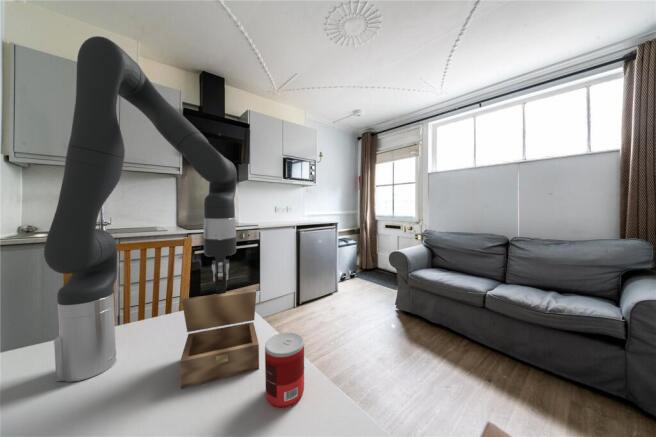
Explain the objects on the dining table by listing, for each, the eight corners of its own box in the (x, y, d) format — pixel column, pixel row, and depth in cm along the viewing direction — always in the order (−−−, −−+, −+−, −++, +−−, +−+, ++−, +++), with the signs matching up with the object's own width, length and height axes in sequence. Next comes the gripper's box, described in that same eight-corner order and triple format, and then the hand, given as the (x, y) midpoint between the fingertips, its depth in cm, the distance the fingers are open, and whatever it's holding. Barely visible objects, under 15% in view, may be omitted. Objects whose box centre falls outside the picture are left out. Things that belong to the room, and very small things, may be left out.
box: (180, 389, 50) (180, 362, 50) (189, 356, 62) (188, 333, 61) (259, 369, 57) (258, 344, 56) (253, 342, 68) (253, 321, 68)
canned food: (310, 384, 52) (309, 335, 51) (292, 415, 44) (292, 357, 44) (279, 376, 54) (278, 329, 54) (257, 404, 47) (257, 349, 46)
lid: (182, 301, 55) (182, 298, 56) (187, 332, 61) (187, 328, 62) (256, 291, 62) (255, 288, 63) (254, 320, 68) (254, 317, 69)
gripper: (205, 233, 65) (207, 295, 66) (201, 240, 53) (202, 315, 54) (235, 232, 68) (235, 291, 69) (237, 238, 56) (238, 310, 57)
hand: (221, 302), depth 62 cm, fingers closed
